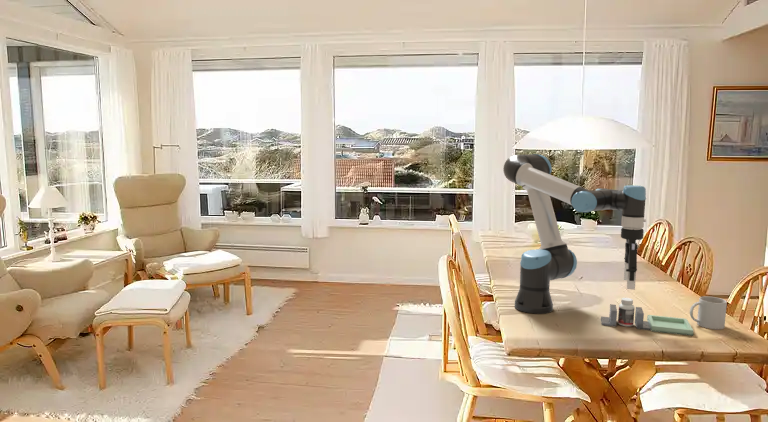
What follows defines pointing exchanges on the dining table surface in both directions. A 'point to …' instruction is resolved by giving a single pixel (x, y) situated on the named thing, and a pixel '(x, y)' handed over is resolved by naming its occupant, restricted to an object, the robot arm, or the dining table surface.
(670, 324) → the tray
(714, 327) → the mug
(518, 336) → the dining table surface
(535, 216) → the robot arm
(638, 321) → the bookends
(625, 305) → the pill bottle
